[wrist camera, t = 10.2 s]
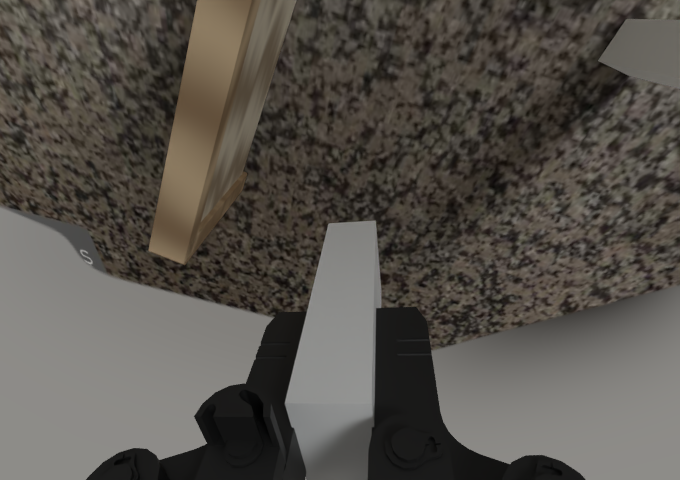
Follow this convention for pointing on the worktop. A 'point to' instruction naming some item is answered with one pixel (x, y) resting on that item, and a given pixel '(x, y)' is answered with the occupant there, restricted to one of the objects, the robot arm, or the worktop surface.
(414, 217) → the worktop surface
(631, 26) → the post
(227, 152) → the gate
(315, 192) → the worktop surface
